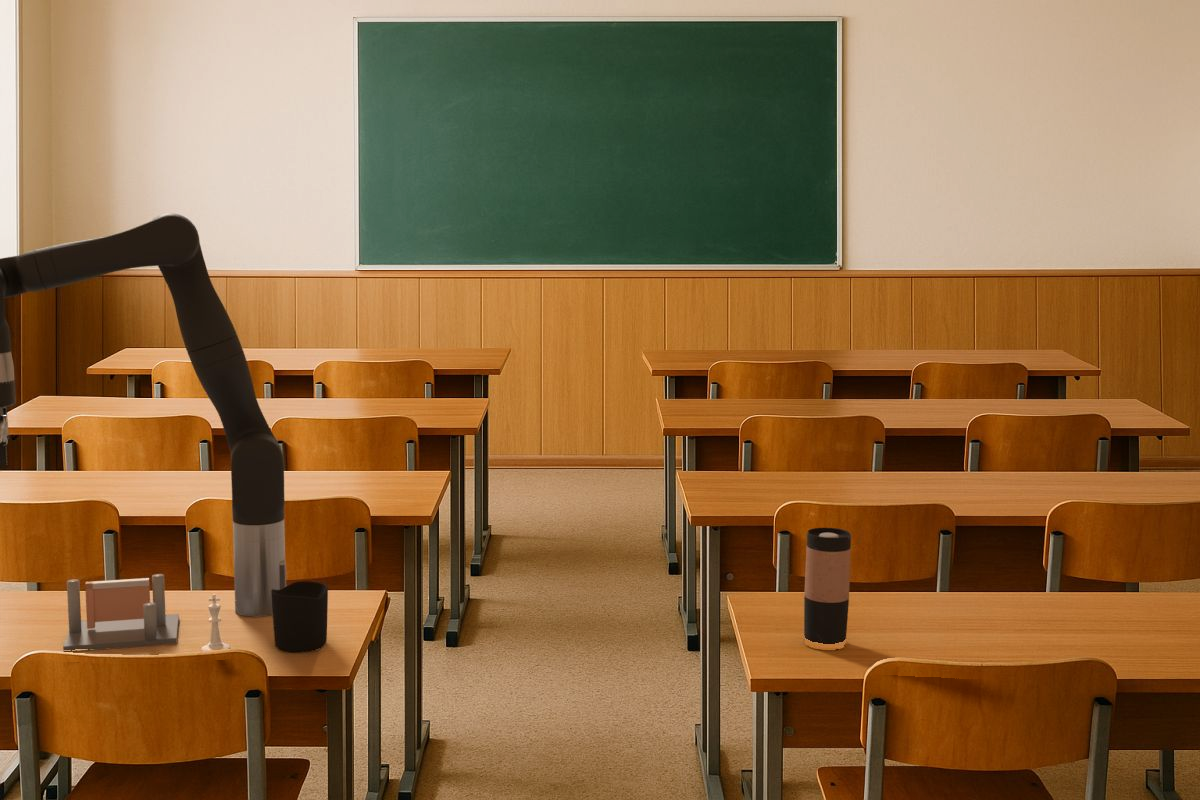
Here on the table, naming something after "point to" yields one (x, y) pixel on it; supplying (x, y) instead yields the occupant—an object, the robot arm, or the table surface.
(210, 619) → the chess piece
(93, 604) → the gate
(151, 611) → the gate frame
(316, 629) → the pen holder
